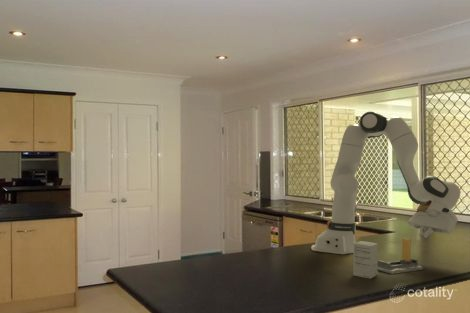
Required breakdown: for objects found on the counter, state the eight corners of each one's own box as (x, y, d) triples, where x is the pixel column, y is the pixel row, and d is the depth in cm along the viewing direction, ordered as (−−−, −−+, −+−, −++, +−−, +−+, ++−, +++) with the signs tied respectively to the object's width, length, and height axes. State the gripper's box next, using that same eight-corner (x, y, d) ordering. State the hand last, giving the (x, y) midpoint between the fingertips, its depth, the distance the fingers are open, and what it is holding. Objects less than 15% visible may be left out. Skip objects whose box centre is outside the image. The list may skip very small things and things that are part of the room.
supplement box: (360, 271, 173) (360, 240, 173) (378, 275, 168) (378, 243, 168) (352, 275, 167) (353, 243, 167) (370, 279, 163) (371, 245, 163)
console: (403, 264, 188) (403, 256, 188) (422, 269, 179) (422, 260, 179) (373, 268, 180) (373, 259, 180) (391, 274, 171) (392, 264, 171)
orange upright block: (406, 263, 184) (406, 237, 184) (412, 265, 181) (412, 239, 181) (399, 264, 182) (400, 238, 182) (405, 266, 179) (406, 239, 179)
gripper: (414, 205, 199) (399, 228, 195) (455, 210, 181) (439, 235, 177) (420, 215, 201) (406, 237, 197) (461, 220, 183) (446, 245, 179)
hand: (422, 236), depth 186 cm, fingers closed
